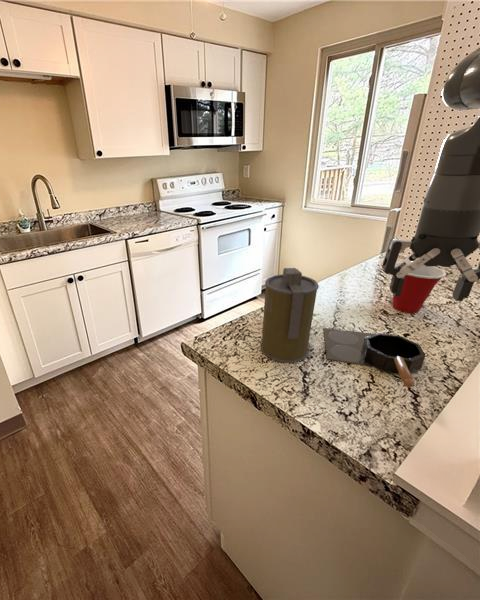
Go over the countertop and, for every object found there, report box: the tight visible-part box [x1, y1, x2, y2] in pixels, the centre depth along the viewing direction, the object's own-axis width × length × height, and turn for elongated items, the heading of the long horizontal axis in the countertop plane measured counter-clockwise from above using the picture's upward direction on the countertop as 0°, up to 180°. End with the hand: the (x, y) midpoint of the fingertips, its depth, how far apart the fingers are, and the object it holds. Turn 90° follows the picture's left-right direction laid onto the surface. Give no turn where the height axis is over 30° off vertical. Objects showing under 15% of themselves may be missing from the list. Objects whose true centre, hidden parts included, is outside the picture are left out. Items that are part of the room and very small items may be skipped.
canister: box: [259, 267, 319, 364], centre depth 69 cm, size 11×10×20 cm
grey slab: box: [323, 327, 419, 374], centre depth 71 cm, size 16×14×1 cm
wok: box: [362, 332, 426, 388], centre depth 63 cm, size 10×17×4 cm, turn 155°
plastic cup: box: [392, 261, 447, 314], centre depth 83 cm, size 11×11×12 cm
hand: (425, 296), depth 55 cm, fingers open, 8 cm apart
